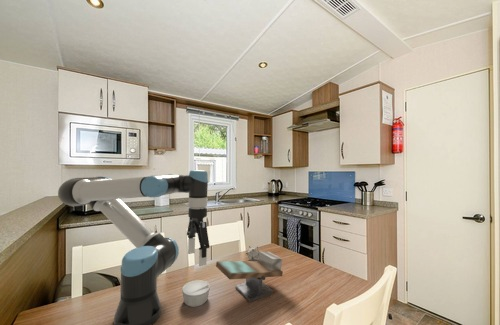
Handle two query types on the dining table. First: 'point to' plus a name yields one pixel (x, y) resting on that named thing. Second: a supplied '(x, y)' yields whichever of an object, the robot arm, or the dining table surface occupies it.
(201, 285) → the ramekin
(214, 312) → the dining table surface
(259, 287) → the fulcrum
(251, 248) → the grey lumpy piece
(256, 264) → the beam
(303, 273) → the dining table surface
